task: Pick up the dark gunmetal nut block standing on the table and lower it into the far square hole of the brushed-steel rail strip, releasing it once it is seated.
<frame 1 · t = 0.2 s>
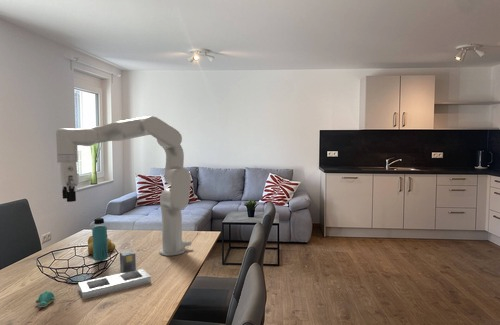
hand: (69, 199, 142), 31 cm above the table, tool pointing down, fingers open, 9 cm apart
beverage bottle: (100, 262, 156), on the table
rail: (115, 285, 130), on the table
whale figurine: (45, 305, 116), on the table
nut block: (128, 271, 145), on the table
bread roll: (101, 252, 170), on the table
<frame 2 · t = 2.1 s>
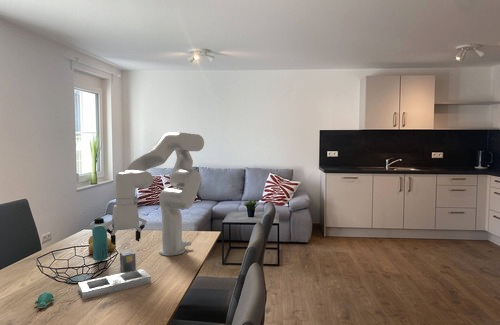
hand: (125, 242, 143), 13 cm above the table, tool pointing down, fingers open, 9 cm apart
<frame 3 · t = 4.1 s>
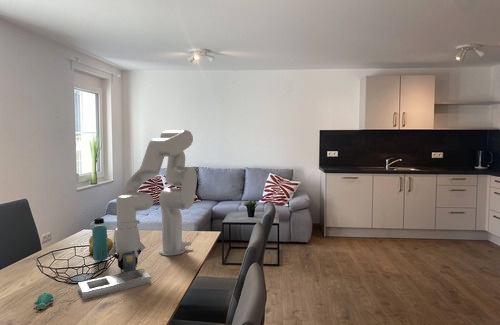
hand: (128, 266, 145), 2 cm above the table, tool pointing down, fingers closed on nut block, 5 cm apart
nut block: (128, 271, 145), on the table, touching gripper
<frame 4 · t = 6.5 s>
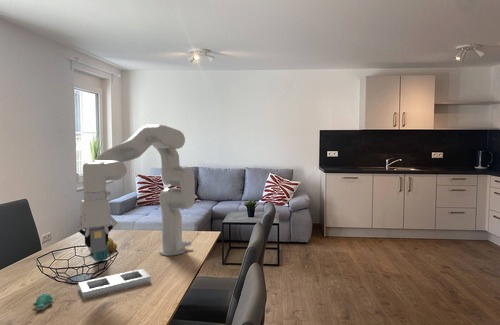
hand: (96, 244, 126), 17 cm above the table, tool pointing down, fingers closed on nut block, 5 cm apart
nut block: (97, 249, 126), point 15 cm above the table, touching gripper
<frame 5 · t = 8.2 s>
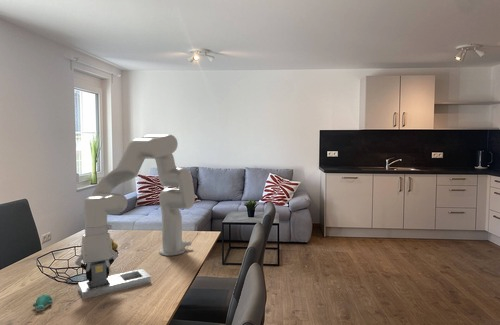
hand: (97, 278, 127), 4 cm above the table, tool pointing down, fingers closed on nut block, 5 cm apart
nut block: (98, 283, 127), point 3 cm above the table, touching gripper
when the fingers open (3 cm above the table, at t = 9.2 s): nut block drops 1 cm, resting in rail.
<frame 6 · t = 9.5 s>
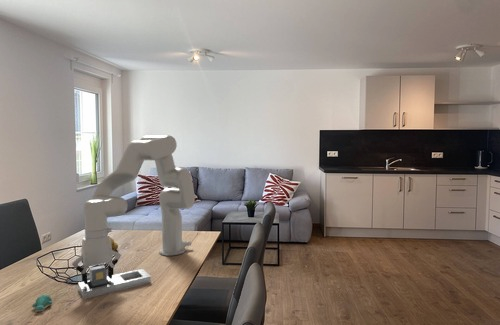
hand: (98, 279, 127), 4 cm above the table, tool pointing down, fingers open, 8 cm apart
nut block: (98, 289, 127), resting in rail
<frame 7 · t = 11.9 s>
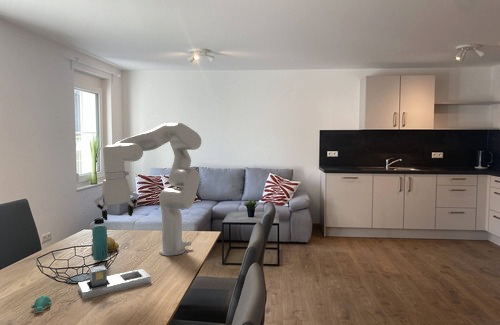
hand: (118, 217, 139), 24 cm above the table, tool pointing down, fingers open, 9 cm apart
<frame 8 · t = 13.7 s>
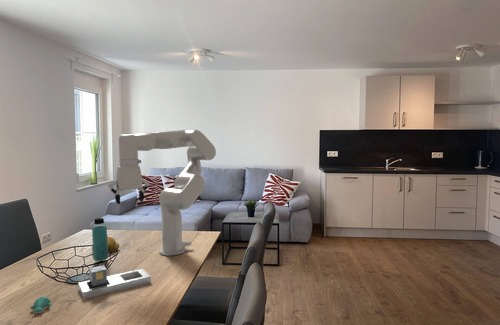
hand: (130, 202, 149), 28 cm above the table, tool pointing down, fingers open, 9 cm apart
at the end: nut block 0.1 cm from the target spot on the rail, point 0.0 cm above the rail's base; nut block tilted 0°; the gripper is holding nothing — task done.
